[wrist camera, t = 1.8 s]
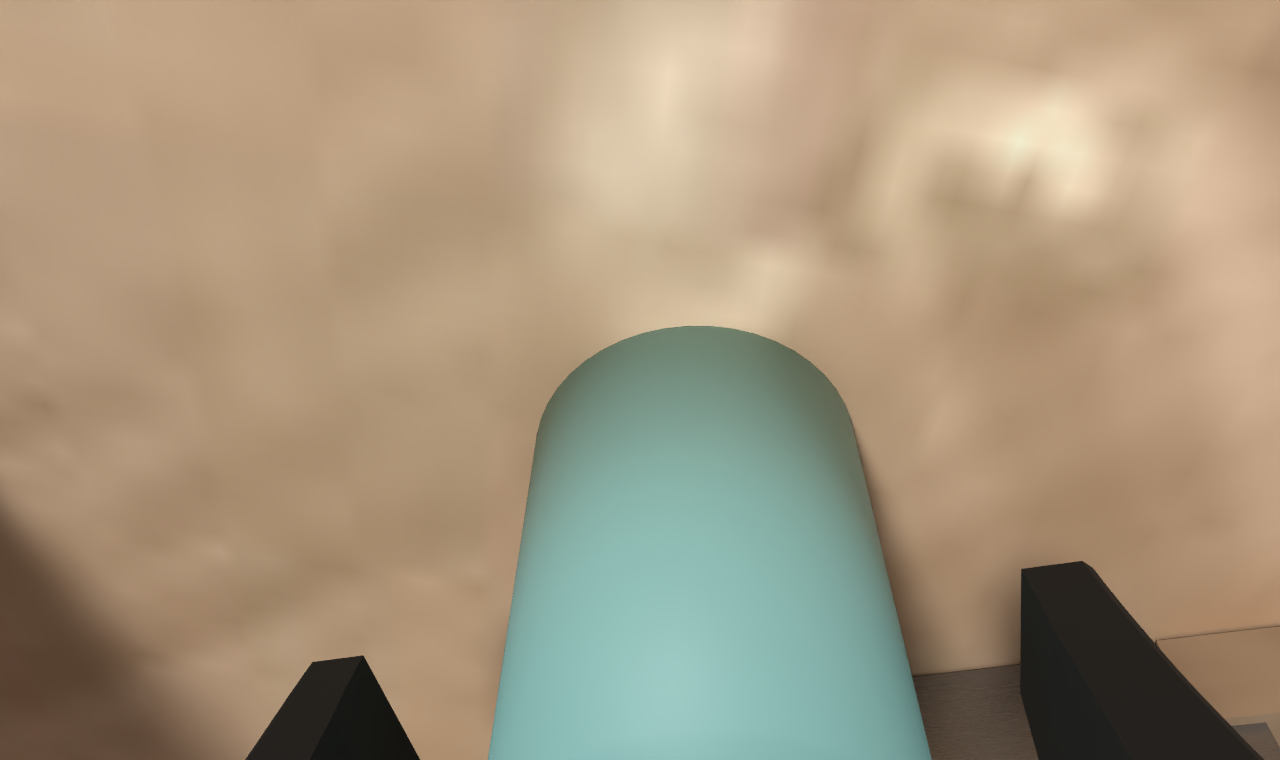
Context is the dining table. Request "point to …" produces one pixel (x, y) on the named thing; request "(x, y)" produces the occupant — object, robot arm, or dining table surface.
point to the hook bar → (1003, 717)
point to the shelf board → (1233, 673)
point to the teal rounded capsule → (702, 568)
